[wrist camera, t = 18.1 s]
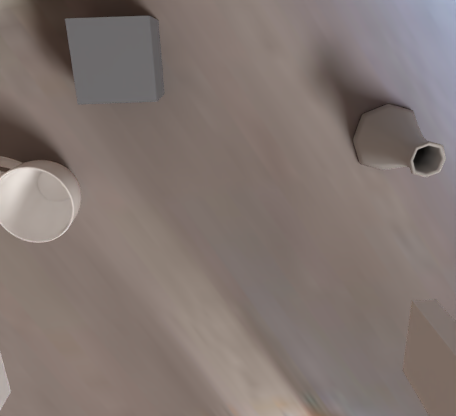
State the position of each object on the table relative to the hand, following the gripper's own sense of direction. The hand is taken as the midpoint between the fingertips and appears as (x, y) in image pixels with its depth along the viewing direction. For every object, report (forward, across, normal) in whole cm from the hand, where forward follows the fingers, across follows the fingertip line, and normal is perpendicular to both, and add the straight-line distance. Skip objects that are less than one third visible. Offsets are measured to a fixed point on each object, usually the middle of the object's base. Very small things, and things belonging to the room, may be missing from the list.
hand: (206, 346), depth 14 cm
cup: (+35, -18, -4) cm, 39 cm away
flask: (+35, +19, -1) cm, 40 cm away
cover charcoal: (+35, -8, +8) cm, 37 cm away
